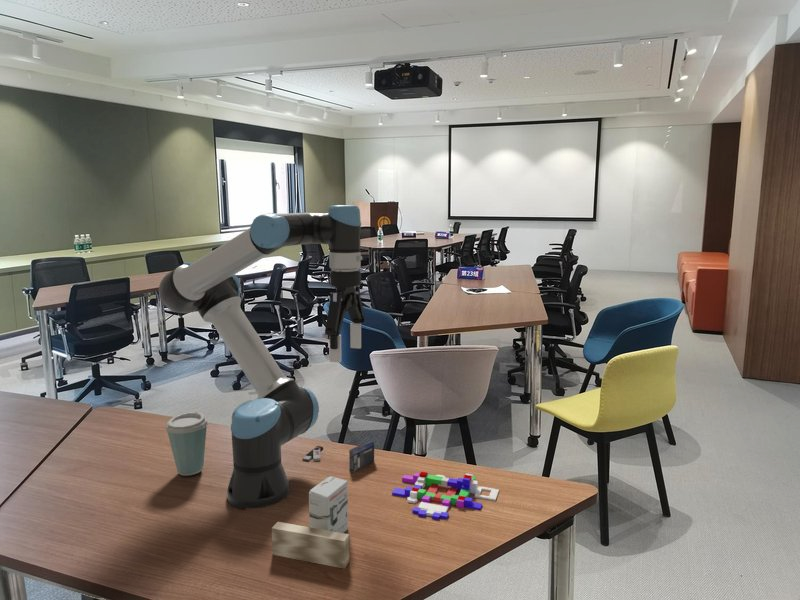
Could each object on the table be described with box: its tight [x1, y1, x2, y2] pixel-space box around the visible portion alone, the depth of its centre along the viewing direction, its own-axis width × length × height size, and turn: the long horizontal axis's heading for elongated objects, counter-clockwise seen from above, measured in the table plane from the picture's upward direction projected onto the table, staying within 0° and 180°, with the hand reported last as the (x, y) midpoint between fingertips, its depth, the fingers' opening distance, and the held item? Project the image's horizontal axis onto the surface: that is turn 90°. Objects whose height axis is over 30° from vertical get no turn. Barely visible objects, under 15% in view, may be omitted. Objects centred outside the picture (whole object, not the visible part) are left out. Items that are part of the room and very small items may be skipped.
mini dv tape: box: [348, 440, 375, 473], centre depth 157 cm, size 8×2×6 cm, turn 139°
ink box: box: [308, 476, 349, 533], centre depth 123 cm, size 9×5×12 cm, turn 154°
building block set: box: [391, 471, 500, 521], centre depth 141 cm, size 25×20×4 cm
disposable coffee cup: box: [165, 411, 208, 476], centre depth 153 cm, size 11×11×15 cm
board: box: [271, 521, 350, 569], centre depth 116 cm, size 16×2×6 cm, turn 74°
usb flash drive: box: [302, 445, 324, 462], centre depth 164 cm, size 9×5×1 cm, turn 160°
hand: (346, 354), depth 141 cm, fingers open, 13 cm apart
